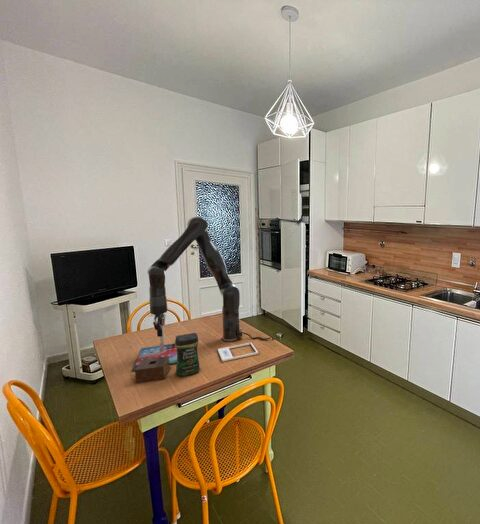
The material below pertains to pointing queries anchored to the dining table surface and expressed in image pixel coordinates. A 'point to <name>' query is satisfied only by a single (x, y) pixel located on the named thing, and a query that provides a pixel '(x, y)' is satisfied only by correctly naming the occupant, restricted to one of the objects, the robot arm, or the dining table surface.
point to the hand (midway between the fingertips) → (160, 335)
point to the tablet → (158, 353)
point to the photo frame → (227, 355)
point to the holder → (152, 369)
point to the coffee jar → (187, 354)
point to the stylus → (162, 340)
